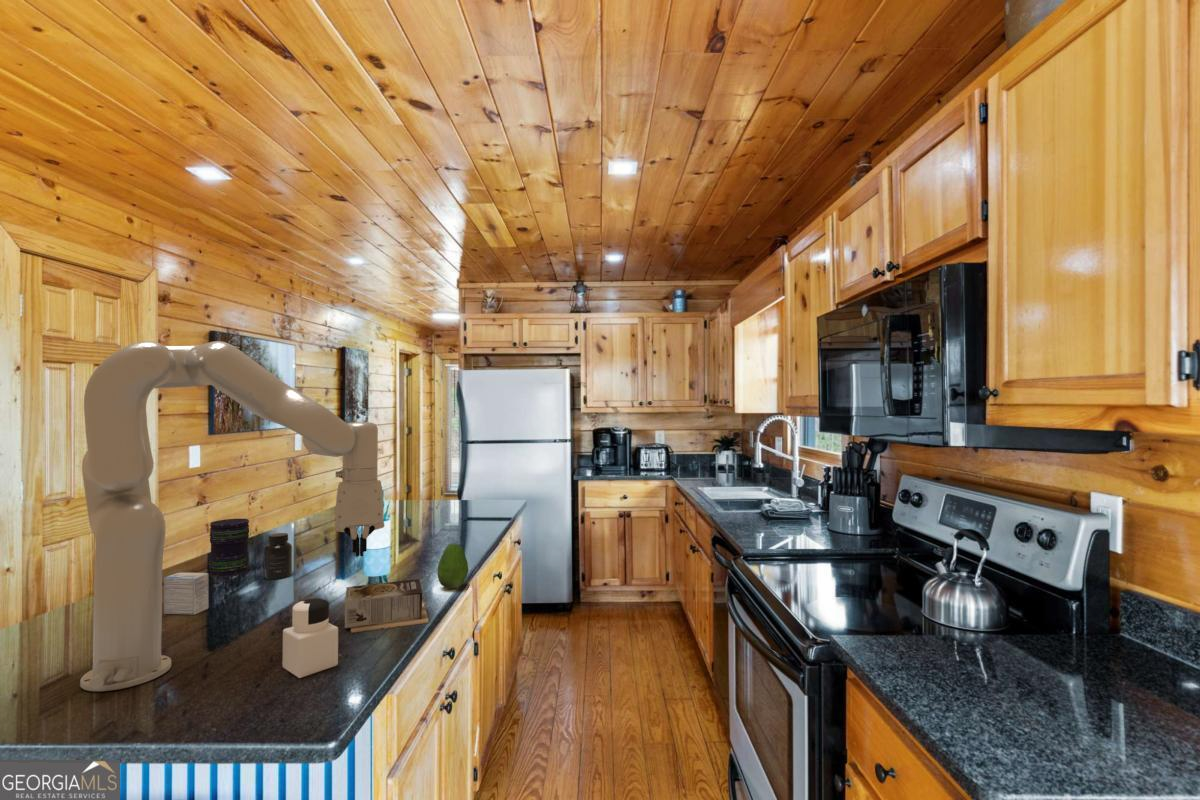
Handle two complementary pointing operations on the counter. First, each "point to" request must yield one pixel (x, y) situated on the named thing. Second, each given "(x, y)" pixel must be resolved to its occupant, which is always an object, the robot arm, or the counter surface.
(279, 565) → the supplement bottle
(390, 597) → the coffee box
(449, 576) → the avocado
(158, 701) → the counter surface
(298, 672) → the medicine bottle
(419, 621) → the wooden cutting board
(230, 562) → the dark purple cylinder
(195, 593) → the medicine box
